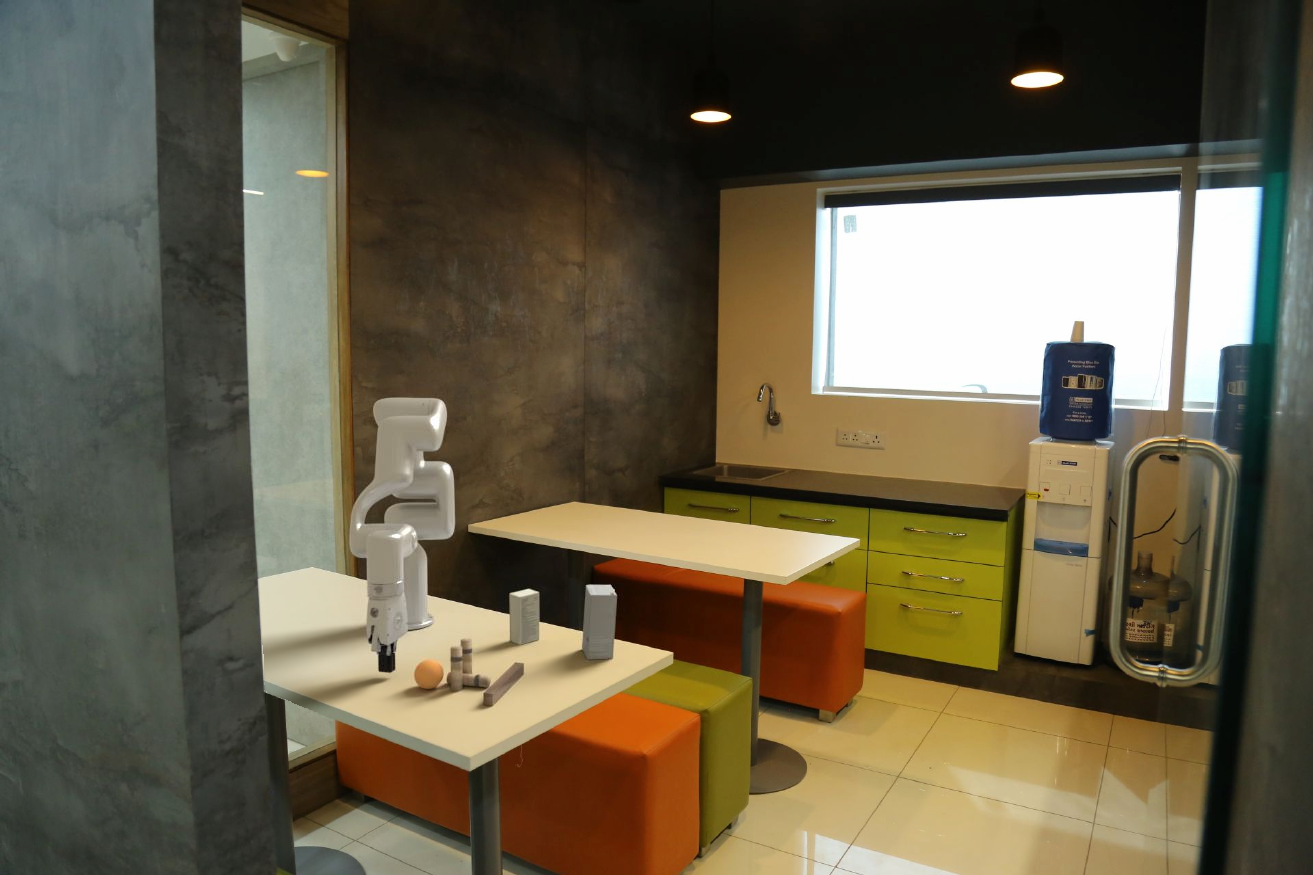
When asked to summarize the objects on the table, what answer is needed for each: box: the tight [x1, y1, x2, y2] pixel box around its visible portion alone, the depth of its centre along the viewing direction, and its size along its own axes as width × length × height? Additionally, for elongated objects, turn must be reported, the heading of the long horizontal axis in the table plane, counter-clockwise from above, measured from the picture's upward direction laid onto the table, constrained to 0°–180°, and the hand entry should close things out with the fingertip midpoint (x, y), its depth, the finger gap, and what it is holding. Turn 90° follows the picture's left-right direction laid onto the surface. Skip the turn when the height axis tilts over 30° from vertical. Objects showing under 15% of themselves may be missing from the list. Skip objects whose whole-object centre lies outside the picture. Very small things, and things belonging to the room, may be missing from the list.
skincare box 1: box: [508, 588, 540, 646], centre depth 216 cm, size 6×4×12 cm
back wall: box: [482, 662, 525, 707], centre depth 185 cm, size 2×18×2 cm, turn 168°
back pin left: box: [460, 637, 473, 674], centre depth 189 cm, size 2×2×9 cm
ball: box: [413, 658, 445, 690], centre depth 185 cm, size 6×6×6 cm
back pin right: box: [449, 645, 463, 692], centre depth 184 cm, size 2×2×9 cm
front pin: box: [445, 671, 492, 689], centre depth 187 cm, size 2×2×9 cm
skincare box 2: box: [581, 584, 618, 661], centre depth 207 cm, size 8×7×16 cm
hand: (386, 670), depth 190 cm, fingers closed
